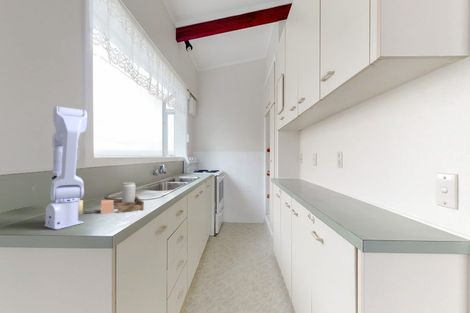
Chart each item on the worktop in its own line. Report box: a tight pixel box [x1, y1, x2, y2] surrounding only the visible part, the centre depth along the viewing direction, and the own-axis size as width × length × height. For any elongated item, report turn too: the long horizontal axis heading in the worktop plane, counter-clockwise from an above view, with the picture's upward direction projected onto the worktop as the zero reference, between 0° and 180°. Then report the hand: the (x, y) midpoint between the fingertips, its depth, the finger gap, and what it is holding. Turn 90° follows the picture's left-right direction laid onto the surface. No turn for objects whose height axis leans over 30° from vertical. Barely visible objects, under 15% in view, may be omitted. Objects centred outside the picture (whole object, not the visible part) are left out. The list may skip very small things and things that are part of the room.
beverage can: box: [121, 182, 137, 203], centre depth 120 cm, size 6×6×12 cm
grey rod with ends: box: [78, 199, 115, 216], centre depth 104 cm, size 15×5×6 cm, turn 120°
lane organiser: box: [112, 195, 145, 213], centre depth 116 cm, size 11×18×4 cm, turn 35°
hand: (60, 191), depth 102 cm, fingers open, 7 cm apart
